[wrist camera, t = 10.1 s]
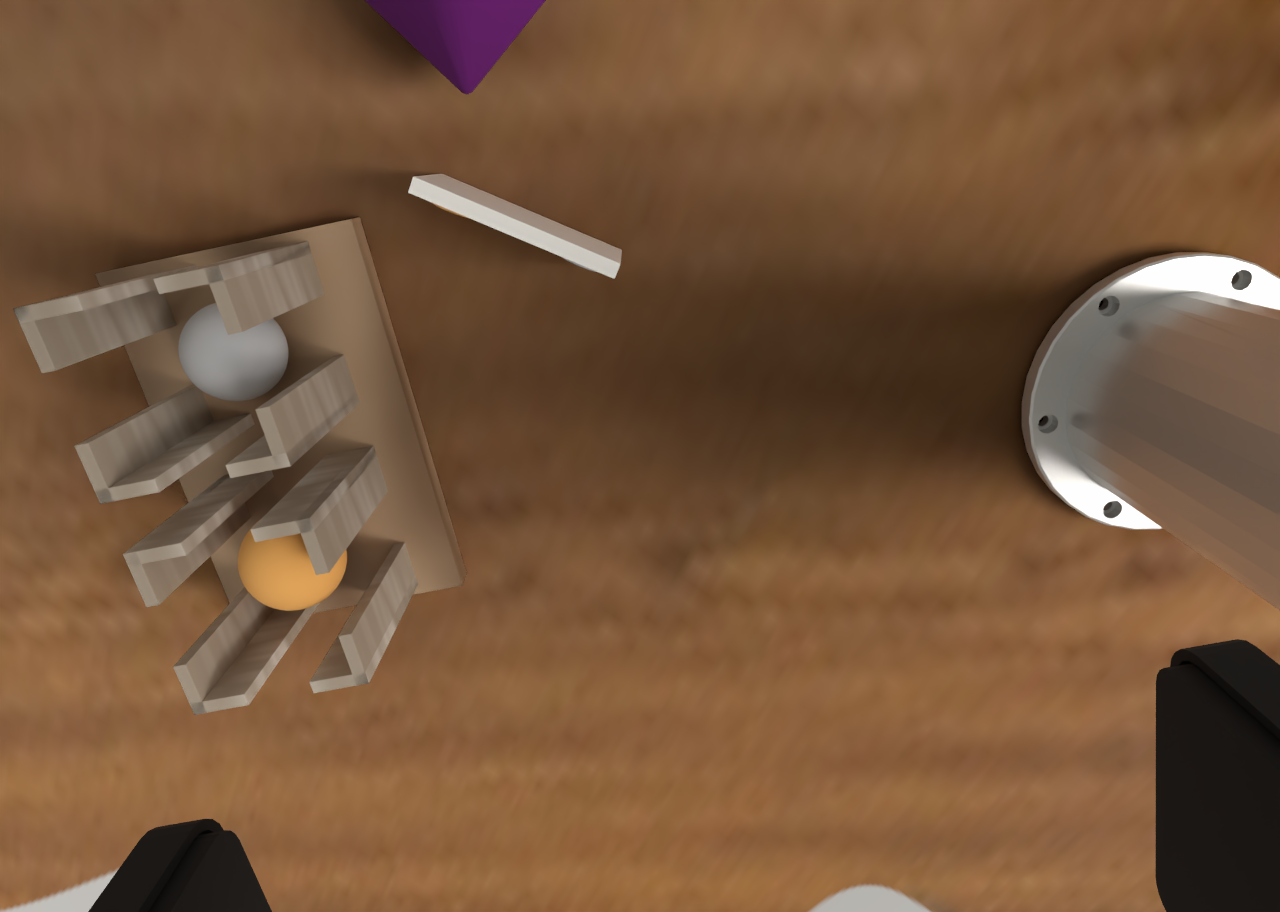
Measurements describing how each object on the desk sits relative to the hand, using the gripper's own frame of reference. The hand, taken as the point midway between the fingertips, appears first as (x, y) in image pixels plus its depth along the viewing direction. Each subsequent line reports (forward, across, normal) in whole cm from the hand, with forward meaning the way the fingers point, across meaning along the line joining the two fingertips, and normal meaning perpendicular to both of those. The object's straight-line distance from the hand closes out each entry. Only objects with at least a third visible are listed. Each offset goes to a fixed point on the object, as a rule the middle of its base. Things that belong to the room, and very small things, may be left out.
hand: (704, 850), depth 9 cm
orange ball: (+24, +17, +7) cm, 30 cm away
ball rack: (+30, +16, +2) cm, 35 cm away
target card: (+30, +4, -5) cm, 31 cm away
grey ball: (+29, +16, -2) cm, 34 cm away
